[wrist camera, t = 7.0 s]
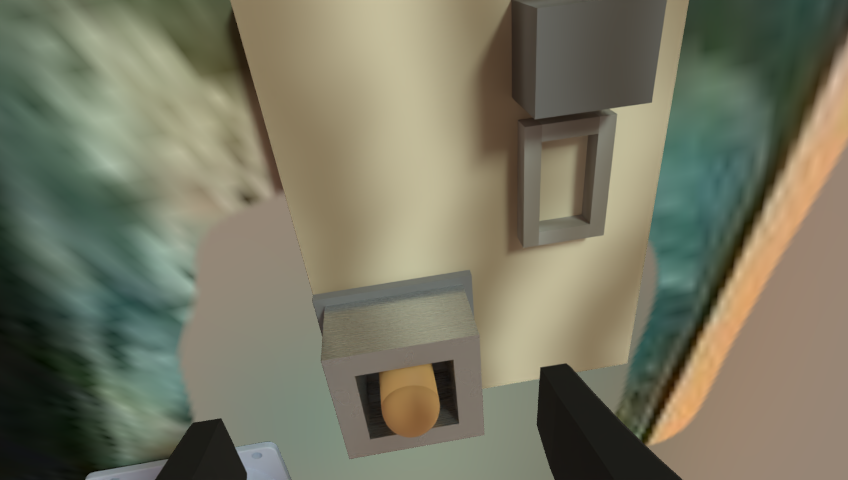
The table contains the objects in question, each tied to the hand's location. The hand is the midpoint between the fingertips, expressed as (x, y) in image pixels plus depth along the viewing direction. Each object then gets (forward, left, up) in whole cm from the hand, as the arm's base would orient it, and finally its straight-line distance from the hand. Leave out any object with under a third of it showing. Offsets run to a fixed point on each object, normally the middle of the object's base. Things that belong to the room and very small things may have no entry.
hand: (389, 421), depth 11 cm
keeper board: (+4, -1, -10) cm, 10 cm away
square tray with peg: (0, -6, -10) cm, 11 cm away
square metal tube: (0, -6, -8) cm, 10 cm away
